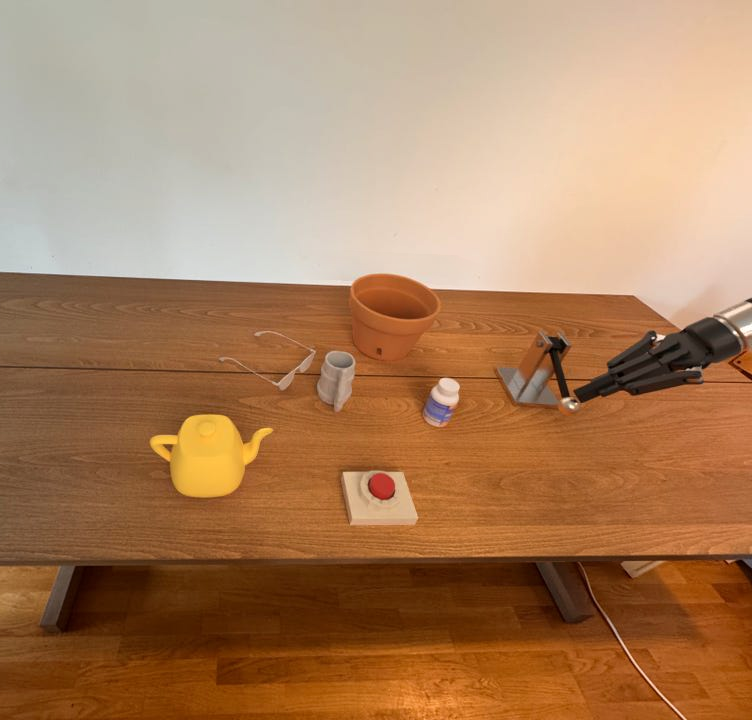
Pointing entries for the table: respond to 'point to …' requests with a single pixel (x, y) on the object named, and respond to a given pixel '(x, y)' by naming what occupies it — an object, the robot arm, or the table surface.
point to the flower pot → (390, 314)
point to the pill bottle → (441, 402)
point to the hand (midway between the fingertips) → (577, 396)
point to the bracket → (533, 374)
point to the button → (381, 486)
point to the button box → (377, 501)
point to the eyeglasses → (289, 377)
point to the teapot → (208, 455)
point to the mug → (336, 378)
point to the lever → (562, 381)
